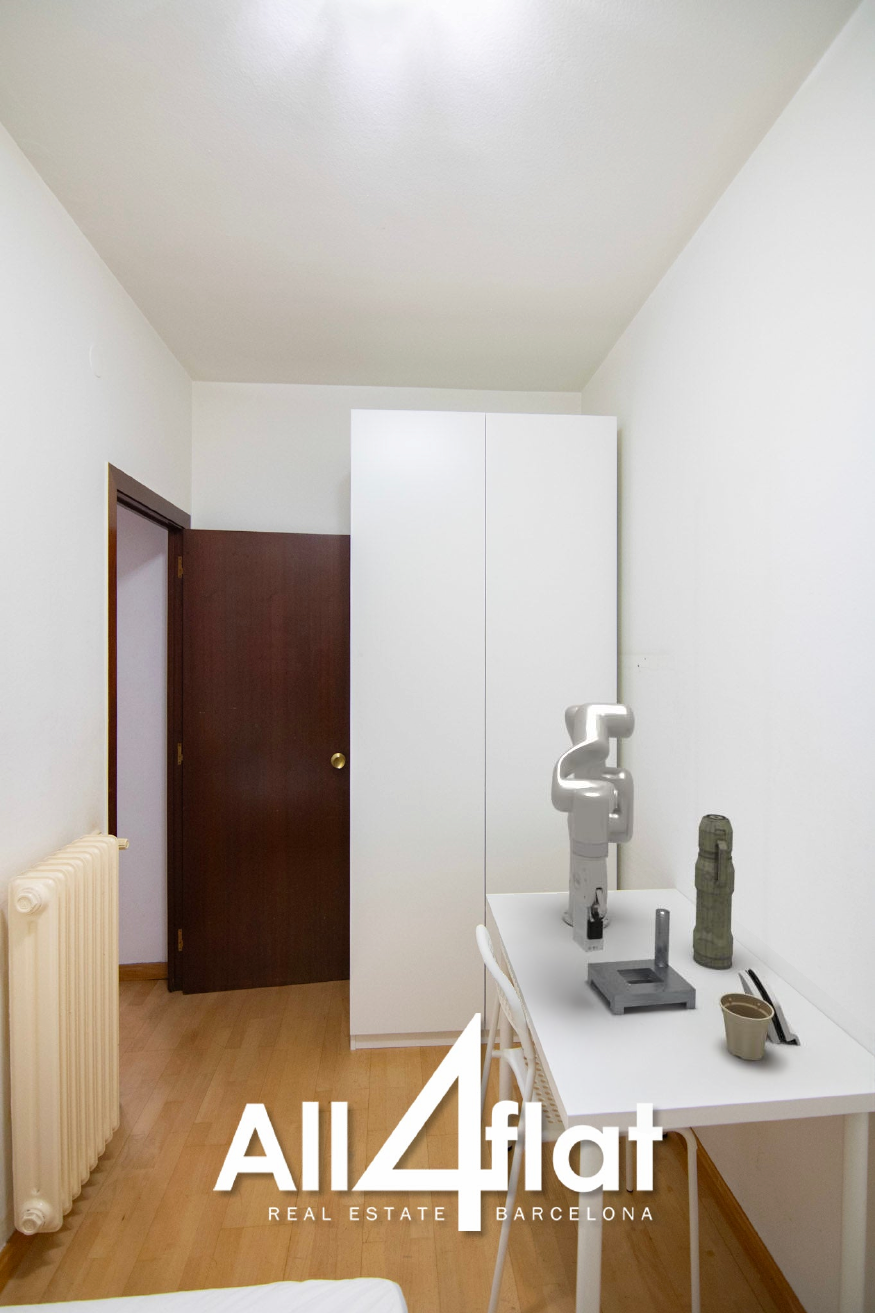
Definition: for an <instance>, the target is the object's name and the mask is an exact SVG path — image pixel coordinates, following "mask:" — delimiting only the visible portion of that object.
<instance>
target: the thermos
mask: <svg viewBox="0 0 875 1313" xmlns="http://www.w3.org/2000/svg"><path fill="white" fill-rule="evenodd" d="M733 835H734V830H733V827H732V824H731V820H730V819H729V818H728V817H727V816H724V815H720V814H717V813H716V814H715V813H714V814H712V813H711V814H710V813H709V814H705V815H704V816H702V817H701V820H700V823H699V825H698V838H697V839H698V841H697V842H698V844H697V846H698V852H697V859H696V861H695V864H694V887H695V890H696V894H695V895H696V898H695V899H696V901H695V902H696V903H695V904H696V905H695V926H694V928H693V930H692V949H693V955H692V958H693V961H694V962H695V963H696V964H698V965H699V966H701V967H704V968H706V969H710V970H711V969H712V970H718V971H719V970H720V971H721V970H722V971H723V970H728V969H730V968H731V967H732V966H733V962H732V961H733V960H732V957H733V955H734V935H733V934H732V907H733V902H732V901H733V894H734V892H735V875H736V874H735V873H736V869H735V866H734V863H733V856H732V852H733V846H734V845H733V844H734V843H733V840H734V838H733V837H734V836H733Z"/></svg>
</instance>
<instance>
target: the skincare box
mask: <svg viewBox="0 0 875 1313" xmlns="http://www.w3.org/2000/svg"><path fill="white" fill-rule="evenodd" d="M592 905H597V902H593V904H592ZM596 911H598V908H593V914H594V913H595V912H596ZM587 920H589V912H588V908H585V907H584V906H583V905H581V904H580V902H579V901H578V900H577V899H576V898H575V897H574V905H573V926H572V941H573V942H574V943H576V945H577V946H579V948H581V949H582V950H583V951H584V952H585V953H591V952H598V951H603V950H604V937H603V938H602V939H594V940H589V939H588V938H587ZM604 928H605V927H604V921H603V936H604Z"/></svg>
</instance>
